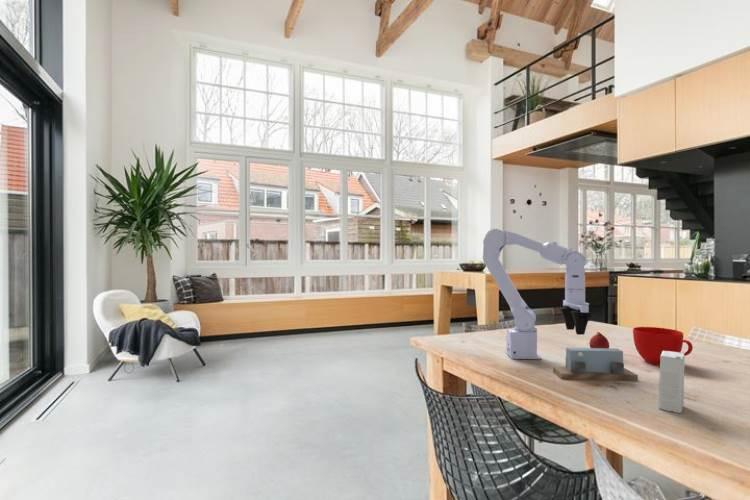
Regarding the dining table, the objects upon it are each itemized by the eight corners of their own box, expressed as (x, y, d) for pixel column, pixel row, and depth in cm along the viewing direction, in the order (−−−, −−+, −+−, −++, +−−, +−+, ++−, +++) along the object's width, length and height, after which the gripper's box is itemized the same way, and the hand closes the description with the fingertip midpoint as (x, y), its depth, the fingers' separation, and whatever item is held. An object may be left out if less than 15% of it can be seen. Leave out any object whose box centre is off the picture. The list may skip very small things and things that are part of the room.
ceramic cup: (674, 374, 114) (674, 339, 114) (623, 358, 130) (623, 327, 130) (708, 370, 117) (708, 336, 117) (654, 355, 133) (654, 325, 133)
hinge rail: (561, 378, 109) (561, 362, 109) (553, 371, 116) (552, 356, 116) (637, 380, 108) (637, 364, 108) (625, 373, 114) (624, 357, 114)
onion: (604, 353, 136) (604, 330, 136) (612, 358, 131) (612, 333, 131) (586, 353, 137) (586, 329, 137) (594, 357, 131) (594, 333, 131)
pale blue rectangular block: (571, 372, 110) (571, 351, 110) (566, 368, 114) (566, 347, 114) (624, 373, 109) (624, 351, 109) (617, 369, 113) (617, 348, 113)
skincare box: (660, 401, 93) (660, 349, 93) (685, 406, 90) (684, 352, 90) (658, 409, 88) (657, 354, 88) (683, 414, 86) (683, 358, 86)
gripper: (599, 291, 119) (599, 336, 119) (578, 287, 134) (578, 327, 134) (574, 291, 120) (574, 336, 120) (556, 287, 134) (556, 327, 134)
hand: (575, 331), depth 127 cm, fingers open, 7 cm apart
